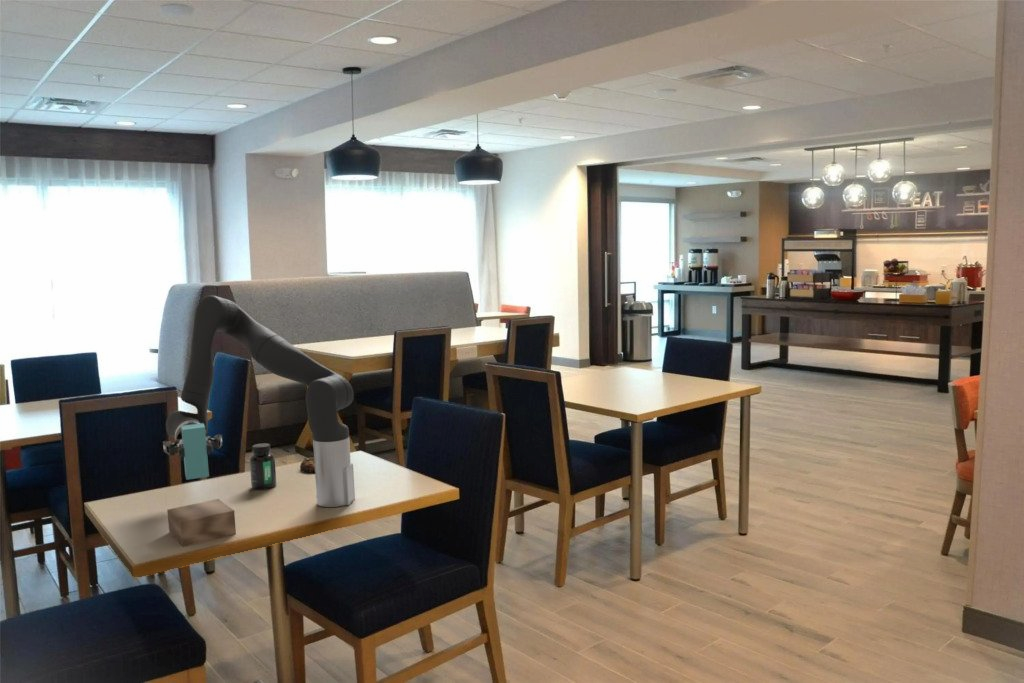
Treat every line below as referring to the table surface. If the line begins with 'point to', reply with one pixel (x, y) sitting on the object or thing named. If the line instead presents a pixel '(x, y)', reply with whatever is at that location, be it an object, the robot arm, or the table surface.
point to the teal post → (195, 451)
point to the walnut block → (201, 522)
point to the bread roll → (308, 465)
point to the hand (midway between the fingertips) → (195, 451)
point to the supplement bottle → (262, 467)
